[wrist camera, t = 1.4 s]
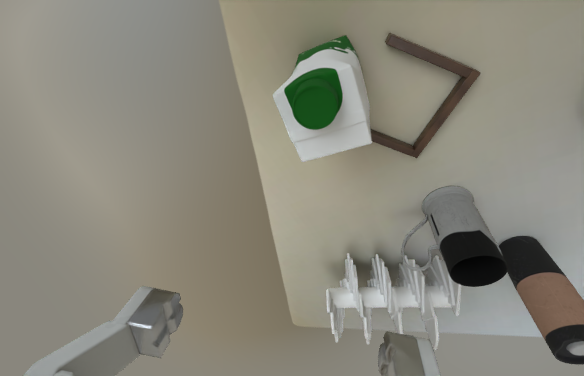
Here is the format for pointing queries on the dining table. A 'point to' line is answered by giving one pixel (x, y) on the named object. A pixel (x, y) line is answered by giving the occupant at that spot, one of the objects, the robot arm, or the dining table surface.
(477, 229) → the glass holder
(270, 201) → the dining table surface
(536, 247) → the travel mug
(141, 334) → the robot arm
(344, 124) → the soya milk
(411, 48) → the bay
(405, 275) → the spiral staircase
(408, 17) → the dining table surface
